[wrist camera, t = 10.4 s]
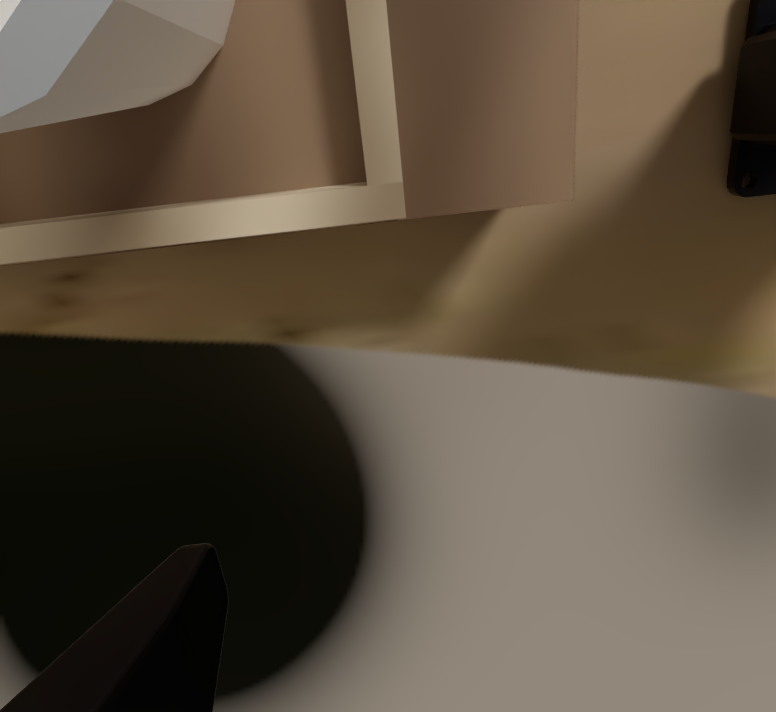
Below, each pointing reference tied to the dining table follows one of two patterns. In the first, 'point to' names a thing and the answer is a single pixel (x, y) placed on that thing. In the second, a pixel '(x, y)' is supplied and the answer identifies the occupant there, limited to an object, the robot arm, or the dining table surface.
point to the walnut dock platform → (312, 130)
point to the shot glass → (101, 55)
